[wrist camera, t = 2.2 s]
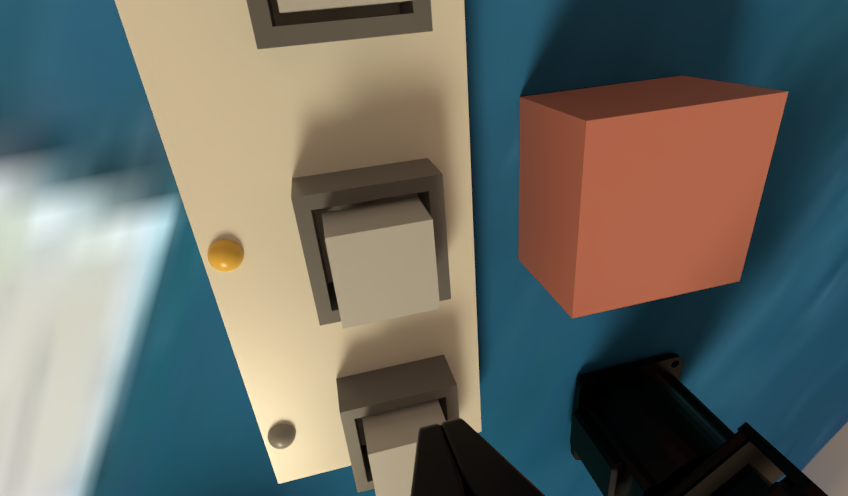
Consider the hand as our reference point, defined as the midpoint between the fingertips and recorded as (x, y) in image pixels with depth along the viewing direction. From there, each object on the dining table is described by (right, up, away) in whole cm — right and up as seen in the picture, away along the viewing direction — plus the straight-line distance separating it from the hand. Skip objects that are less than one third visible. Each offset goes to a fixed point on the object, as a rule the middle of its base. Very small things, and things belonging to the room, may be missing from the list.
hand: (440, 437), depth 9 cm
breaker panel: (-4, +5, +10) cm, 12 cm away
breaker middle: (-2, +4, +7) cm, 8 cm away
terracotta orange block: (+7, +7, +12) cm, 16 cm away
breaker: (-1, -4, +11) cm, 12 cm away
